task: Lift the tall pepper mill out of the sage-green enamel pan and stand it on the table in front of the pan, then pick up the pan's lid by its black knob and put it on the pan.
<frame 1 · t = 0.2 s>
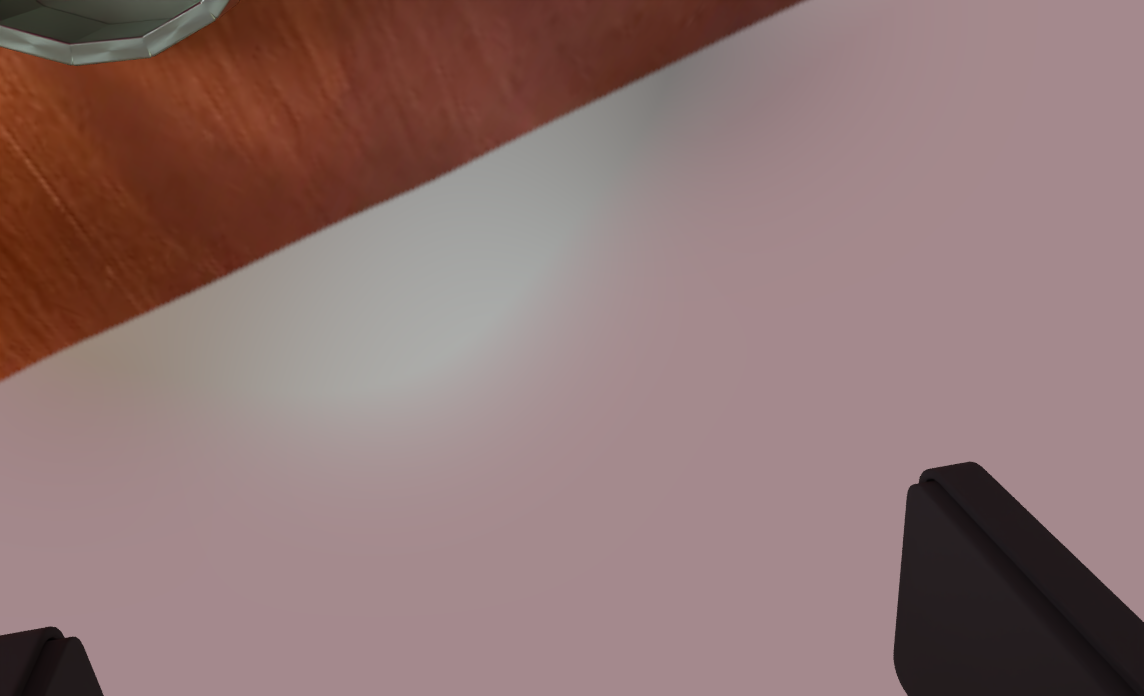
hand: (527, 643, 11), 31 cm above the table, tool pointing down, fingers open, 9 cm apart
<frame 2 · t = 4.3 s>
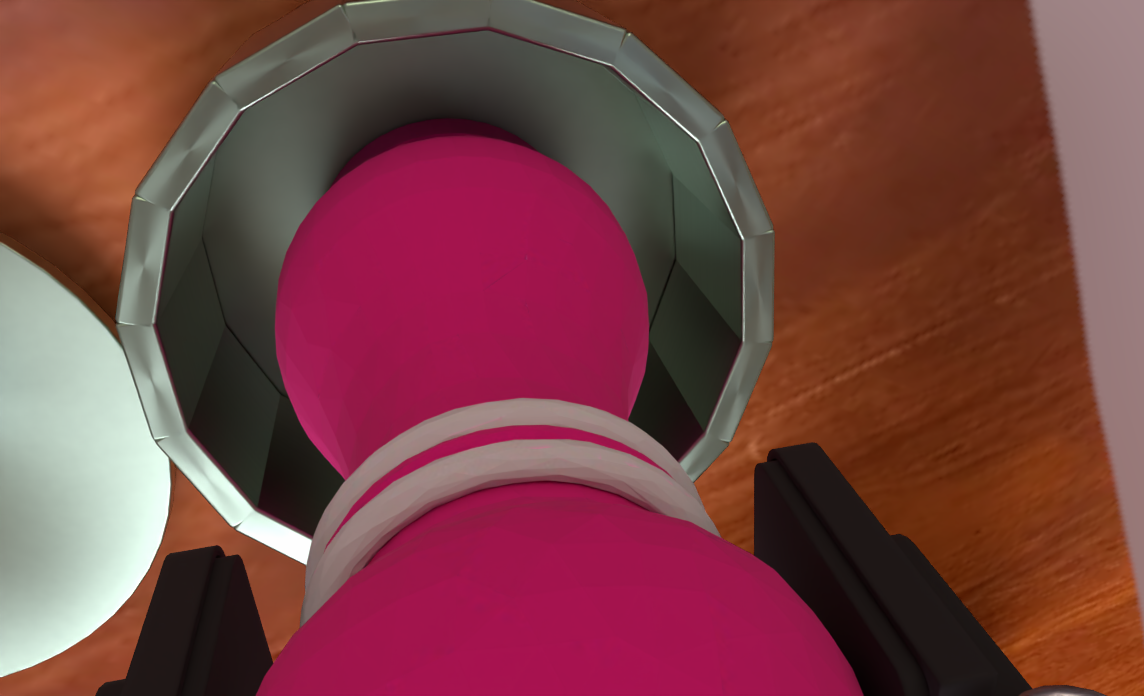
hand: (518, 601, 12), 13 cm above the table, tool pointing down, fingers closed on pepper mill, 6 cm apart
pan: (450, 244, 23), on the table
pepper mill: (450, 245, 23), resting on pan, touching gripper
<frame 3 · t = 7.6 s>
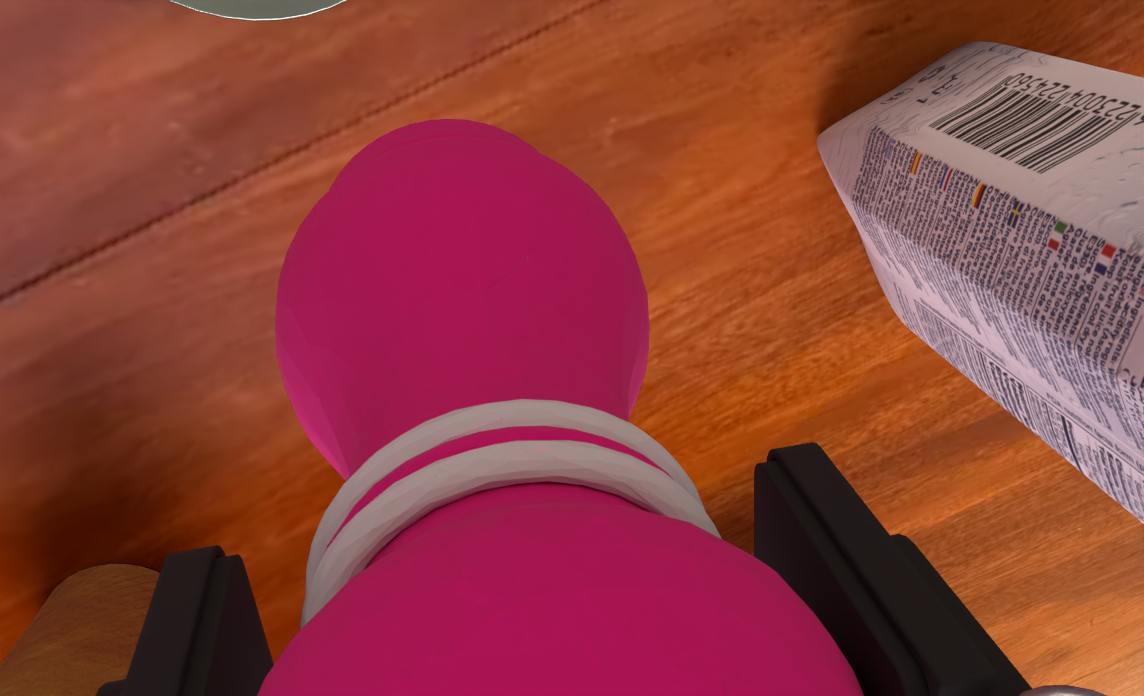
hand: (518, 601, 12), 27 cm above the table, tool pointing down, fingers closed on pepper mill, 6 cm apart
juice carton: (921, 173, 40), on the table
disposable coffee cup: (122, 617, 43), on the table
pepper mill: (450, 246, 23), point 14 cm above the table, touching gripper
when the fingers open (13 cm above the table, at t = 11.4 s): pepper mill stays where it is, on the table.
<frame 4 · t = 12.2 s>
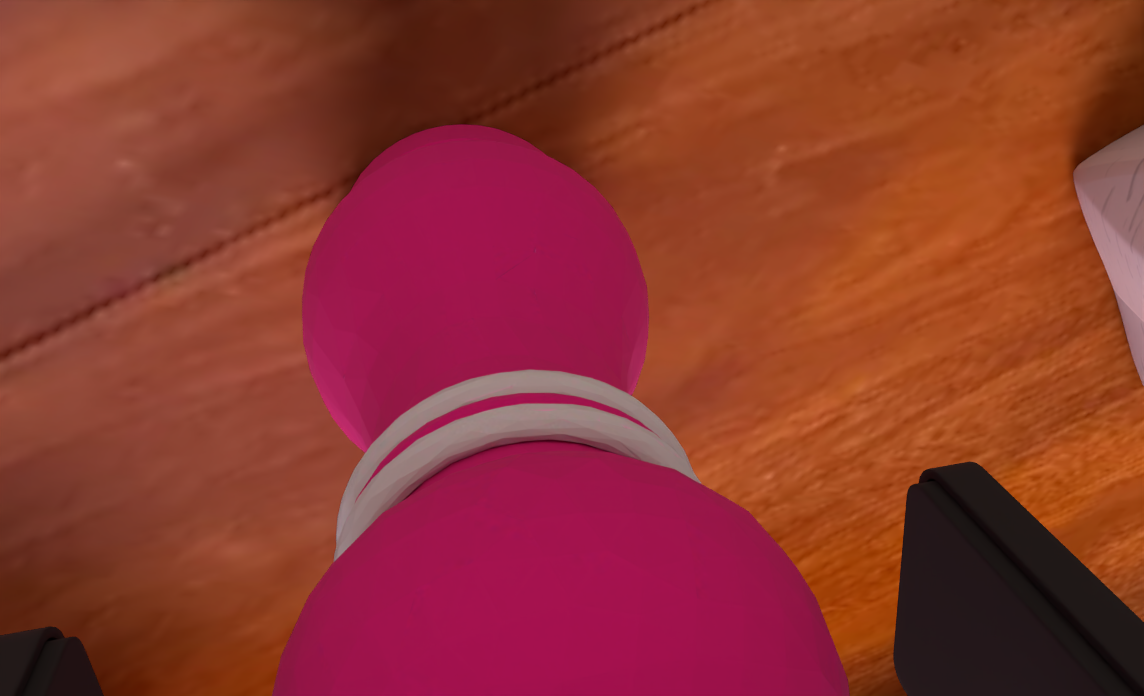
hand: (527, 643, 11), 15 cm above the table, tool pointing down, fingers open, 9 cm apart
pepper mill: (463, 244, 24), on the table
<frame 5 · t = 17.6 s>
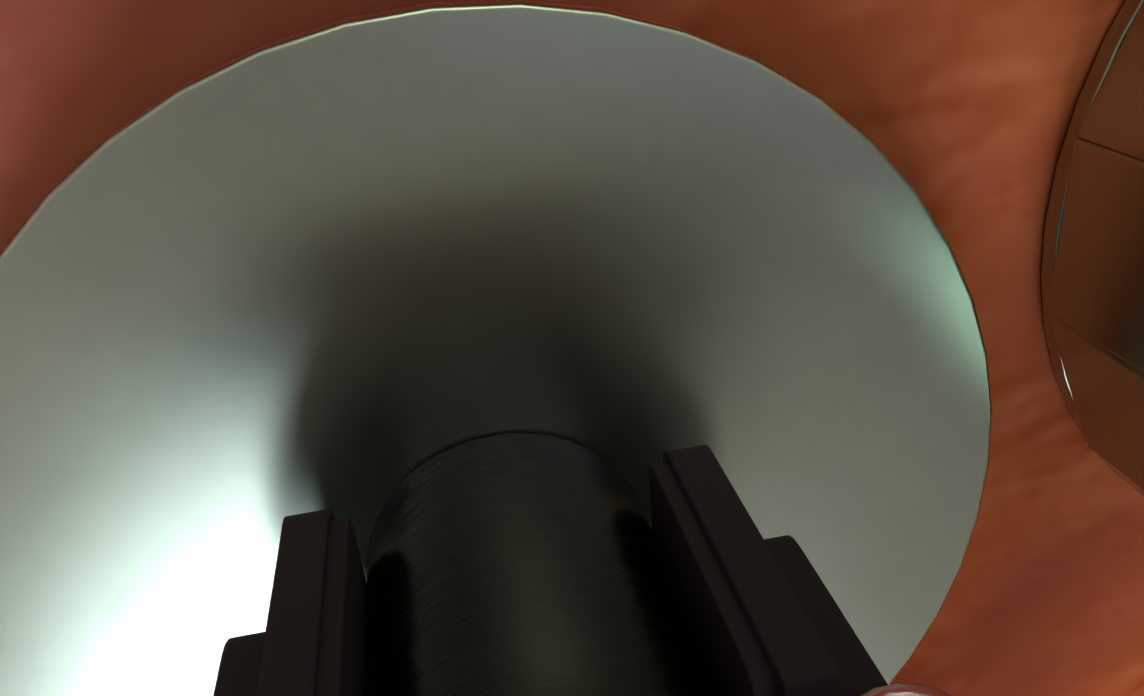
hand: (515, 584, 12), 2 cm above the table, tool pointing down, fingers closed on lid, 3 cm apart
lid: (505, 528, 13), point 1 cm above the table, touching gripper
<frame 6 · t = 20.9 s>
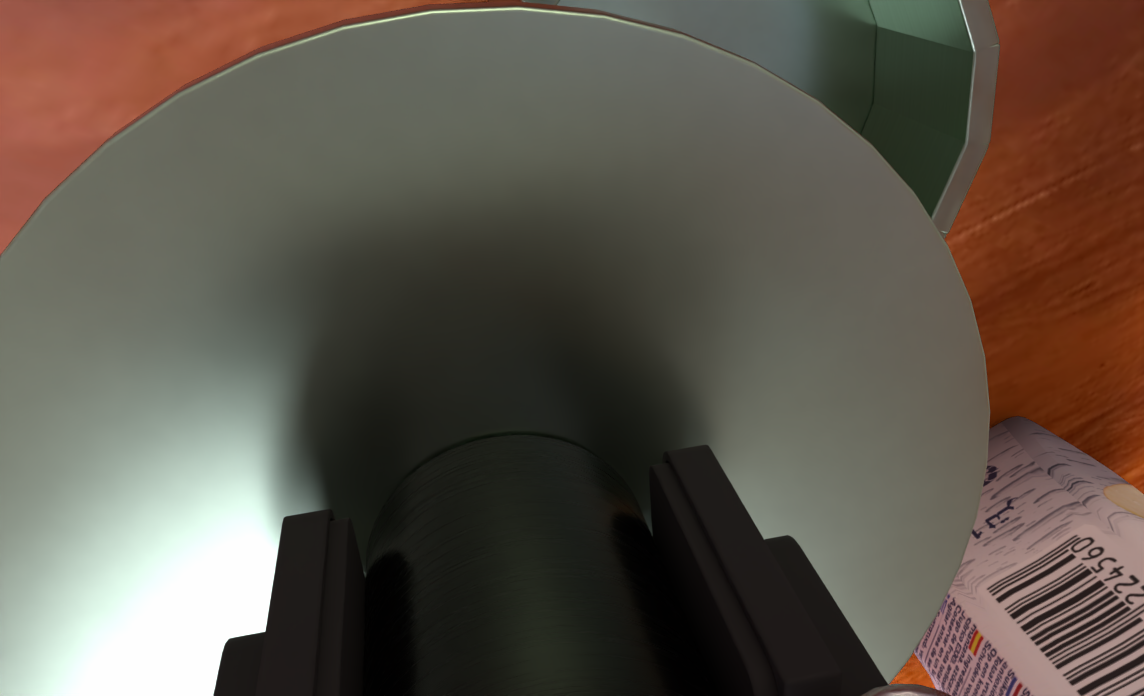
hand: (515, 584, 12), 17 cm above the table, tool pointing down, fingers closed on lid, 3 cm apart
pan: (689, 88, 27), on the table
juice carton: (964, 530, 37), on the table
lid: (503, 529, 13), point 16 cm above the table, touching gripper
when the fingers open (6 cm above the table, at t = 24.5 s): lid stays where it is, resting on pan.
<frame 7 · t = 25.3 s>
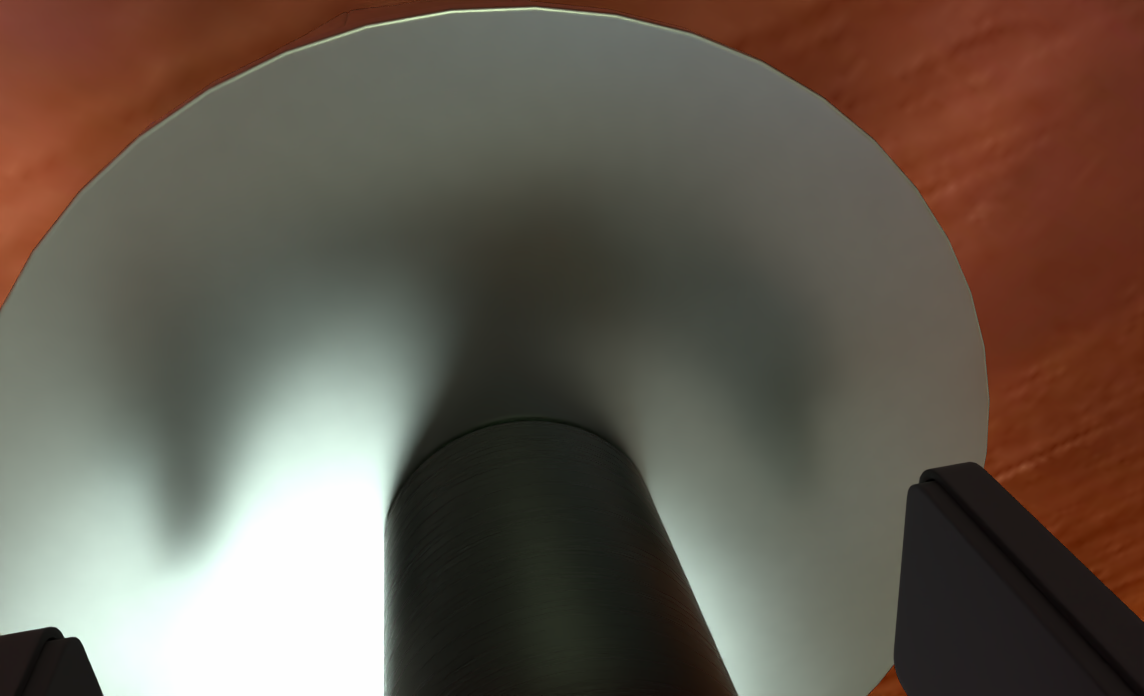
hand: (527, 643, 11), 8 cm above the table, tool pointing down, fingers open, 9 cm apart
pan: (476, 349, 18), on the table
lid: (516, 514, 13), point 5 cm above the table, touching pan
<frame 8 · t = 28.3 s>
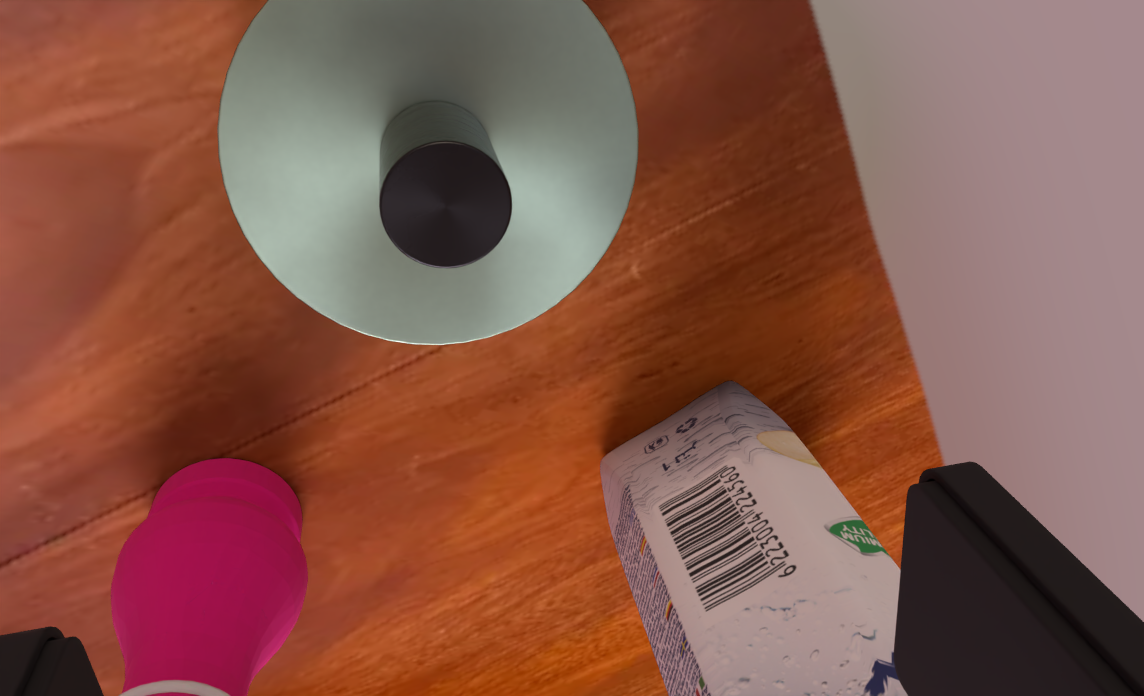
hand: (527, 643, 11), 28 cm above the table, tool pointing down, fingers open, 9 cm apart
juice carton: (702, 476, 46), on the table
pepper mill: (229, 515, 42), on the table
lid: (435, 153, 31), point 5 cm above the table, touching pan
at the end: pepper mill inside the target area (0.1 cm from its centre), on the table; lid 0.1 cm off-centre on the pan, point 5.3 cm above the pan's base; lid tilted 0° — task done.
